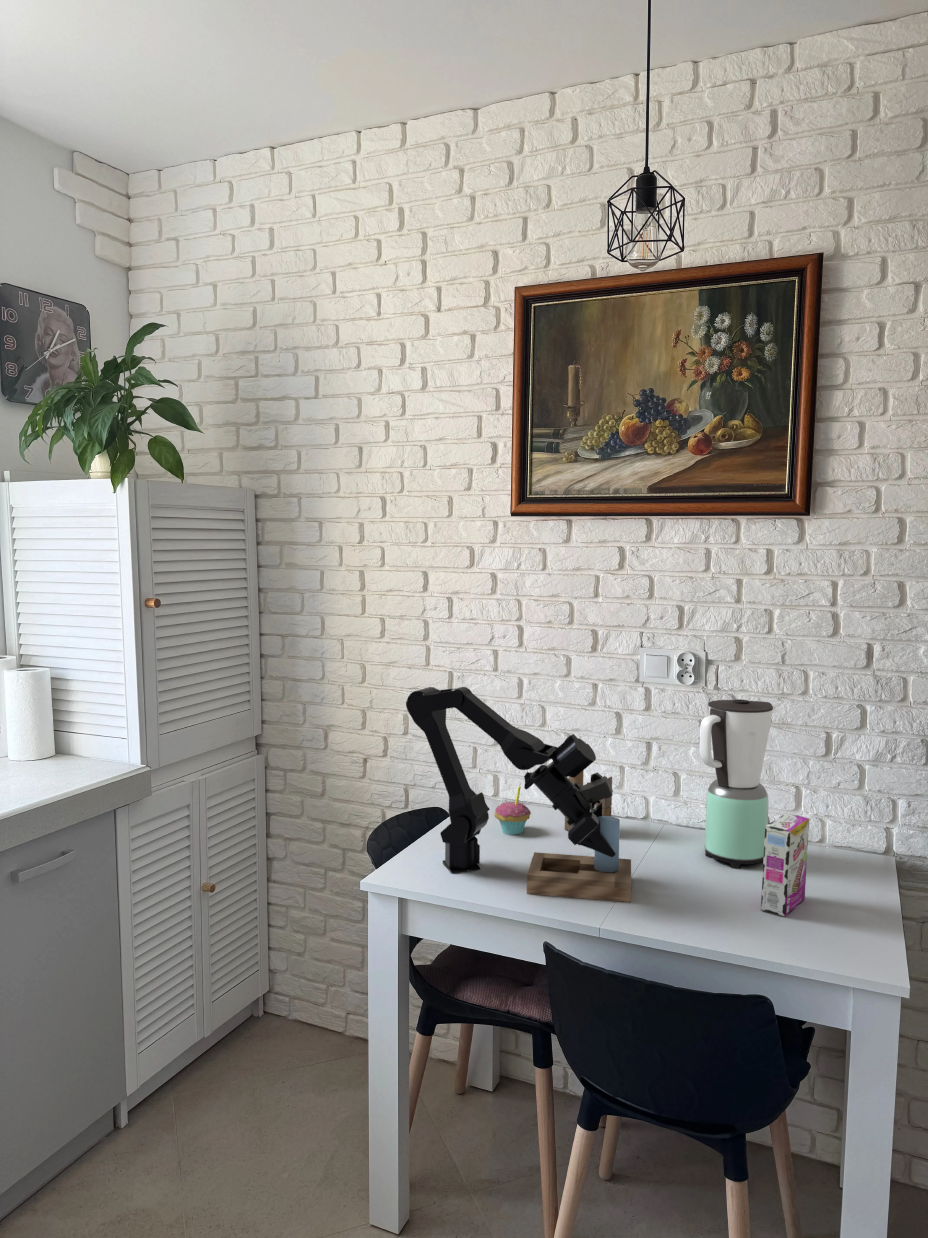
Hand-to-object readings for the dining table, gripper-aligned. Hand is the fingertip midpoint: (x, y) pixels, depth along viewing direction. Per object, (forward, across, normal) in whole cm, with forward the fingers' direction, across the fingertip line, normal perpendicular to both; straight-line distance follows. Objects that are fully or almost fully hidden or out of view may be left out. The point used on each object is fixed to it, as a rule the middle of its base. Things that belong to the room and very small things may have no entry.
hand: (614, 848), depth 173 cm
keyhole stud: (+4, 0, +6) cm, 8 cm away
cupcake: (-11, +30, +23) cm, 40 cm away
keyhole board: (+1, 0, +10) cm, 11 cm away
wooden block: (+1, +33, +11) cm, 35 cm away
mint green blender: (+24, +22, -12) cm, 34 cm away
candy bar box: (+29, -2, -17) cm, 33 cm away
